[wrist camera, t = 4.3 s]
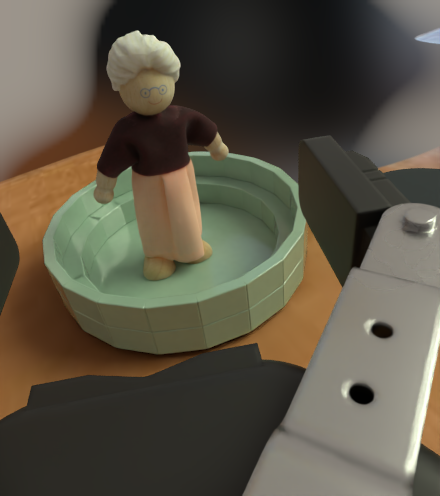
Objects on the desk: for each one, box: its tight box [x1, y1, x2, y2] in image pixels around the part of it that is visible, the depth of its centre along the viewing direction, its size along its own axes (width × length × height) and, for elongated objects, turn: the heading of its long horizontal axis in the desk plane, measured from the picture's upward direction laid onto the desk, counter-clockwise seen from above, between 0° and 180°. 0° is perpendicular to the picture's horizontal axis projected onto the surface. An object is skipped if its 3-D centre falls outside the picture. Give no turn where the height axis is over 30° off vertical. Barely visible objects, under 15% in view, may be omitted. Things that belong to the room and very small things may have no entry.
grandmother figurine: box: [94, 31, 228, 281], centre depth 22 cm, size 8×4×13 cm, turn 129°
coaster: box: [383, 168, 440, 208], centre depth 26 cm, size 11×11×1 cm
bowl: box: [42, 152, 308, 354], centre depth 25 cm, size 15×15×4 cm
